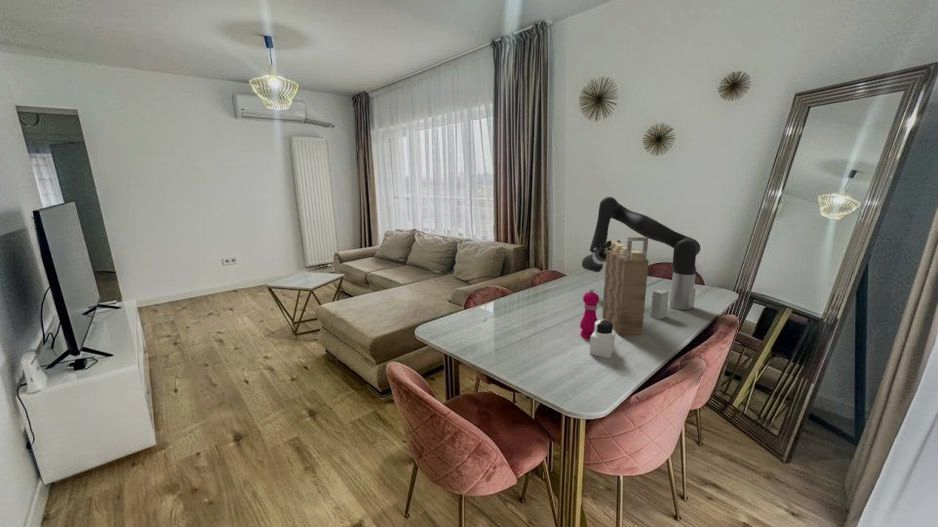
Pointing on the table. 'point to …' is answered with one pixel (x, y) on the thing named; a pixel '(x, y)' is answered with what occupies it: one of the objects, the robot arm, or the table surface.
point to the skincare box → (659, 304)
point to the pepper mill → (589, 314)
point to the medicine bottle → (602, 339)
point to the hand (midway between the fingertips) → (614, 242)
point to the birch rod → (625, 250)
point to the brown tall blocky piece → (625, 290)
